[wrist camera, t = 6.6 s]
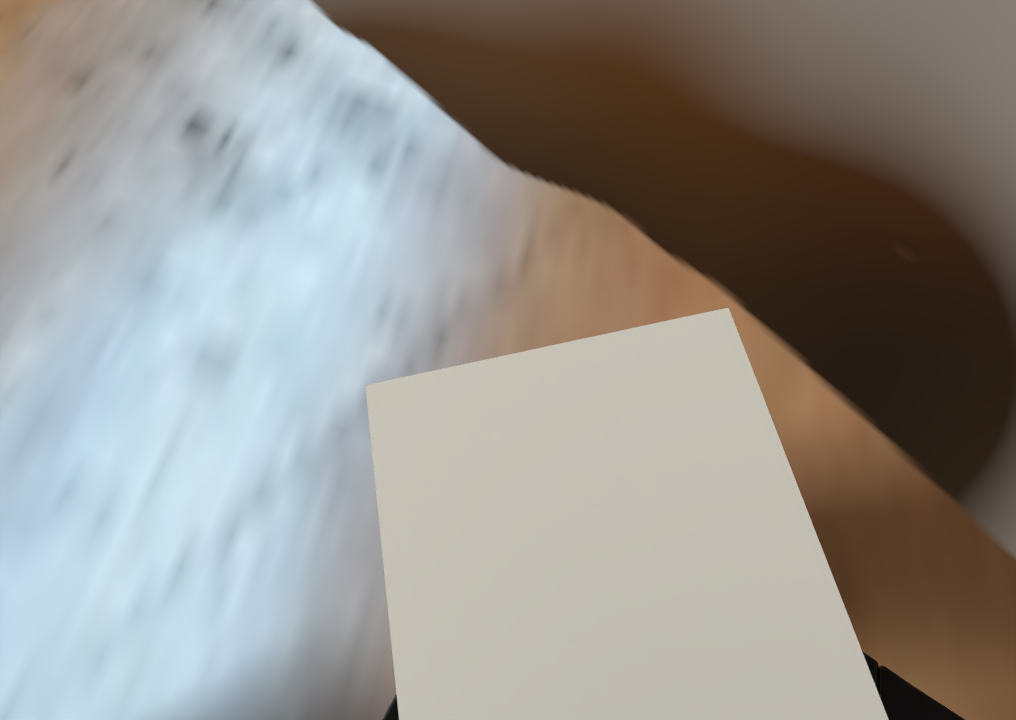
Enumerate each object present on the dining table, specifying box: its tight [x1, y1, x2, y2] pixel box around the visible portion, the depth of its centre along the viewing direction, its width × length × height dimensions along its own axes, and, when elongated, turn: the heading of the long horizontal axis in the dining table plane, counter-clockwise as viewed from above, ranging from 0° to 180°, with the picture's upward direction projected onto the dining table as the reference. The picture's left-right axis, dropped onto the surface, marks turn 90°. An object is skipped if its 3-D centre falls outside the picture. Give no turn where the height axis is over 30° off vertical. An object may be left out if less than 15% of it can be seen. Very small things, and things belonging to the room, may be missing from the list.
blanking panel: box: [365, 308, 889, 720], centre depth 9 cm, size 5×2×13 cm, turn 11°
